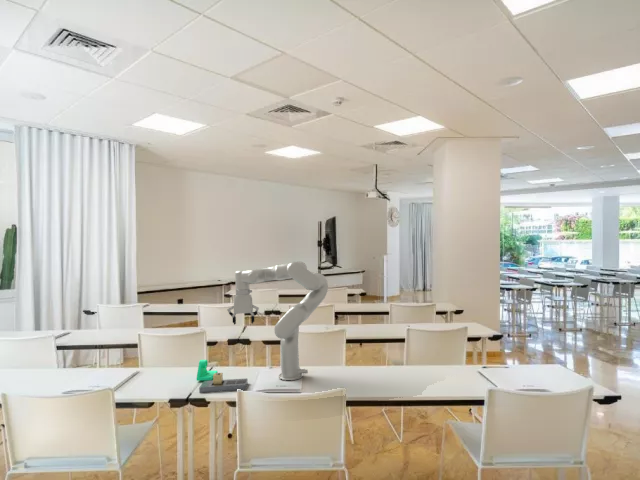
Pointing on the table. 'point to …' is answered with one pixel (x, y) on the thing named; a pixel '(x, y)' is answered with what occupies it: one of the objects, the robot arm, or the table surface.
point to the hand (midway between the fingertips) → (243, 323)
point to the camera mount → (204, 371)
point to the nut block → (218, 379)
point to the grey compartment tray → (224, 385)
